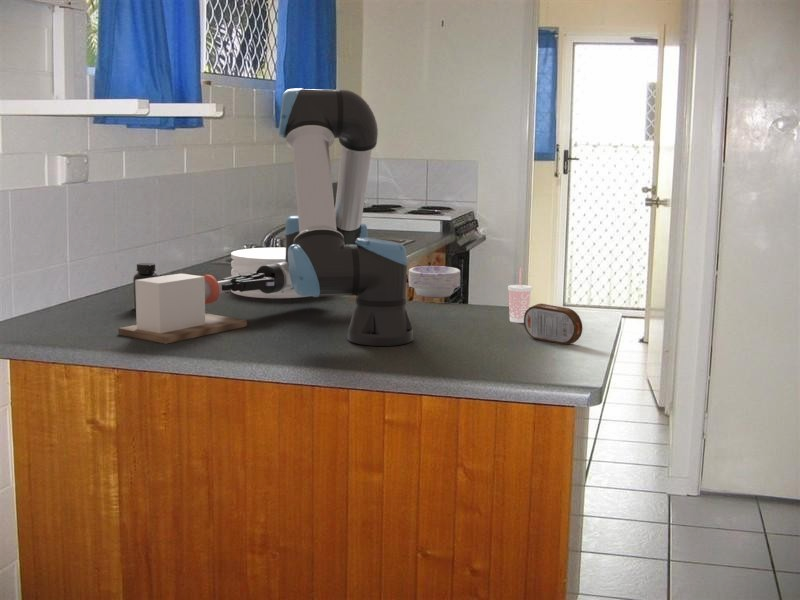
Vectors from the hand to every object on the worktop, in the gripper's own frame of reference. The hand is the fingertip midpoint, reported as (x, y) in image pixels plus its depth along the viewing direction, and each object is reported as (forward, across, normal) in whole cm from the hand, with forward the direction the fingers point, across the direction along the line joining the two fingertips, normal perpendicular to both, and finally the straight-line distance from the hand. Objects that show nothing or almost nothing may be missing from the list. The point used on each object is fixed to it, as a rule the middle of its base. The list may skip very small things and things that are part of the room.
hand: (209, 288), depth 242 cm
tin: (-36, -75, -9) cm, 83 cm away
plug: (+7, 0, -4) cm, 8 cm away
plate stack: (-50, +23, -10) cm, 56 cm away
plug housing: (+13, 0, -8) cm, 15 cm away
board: (+9, 0, -9) cm, 12 cm away
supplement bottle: (-5, +29, -9) cm, 31 cm away
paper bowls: (-73, -18, -9) cm, 76 cm away
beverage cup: (-54, -57, -9) cm, 78 cm away
